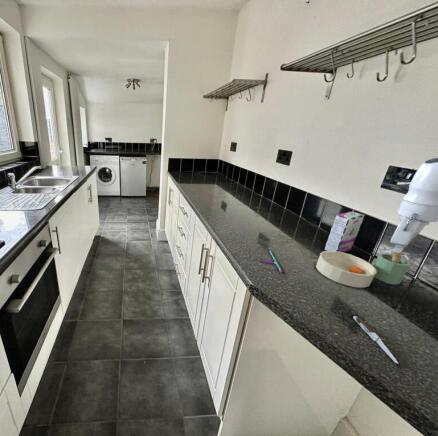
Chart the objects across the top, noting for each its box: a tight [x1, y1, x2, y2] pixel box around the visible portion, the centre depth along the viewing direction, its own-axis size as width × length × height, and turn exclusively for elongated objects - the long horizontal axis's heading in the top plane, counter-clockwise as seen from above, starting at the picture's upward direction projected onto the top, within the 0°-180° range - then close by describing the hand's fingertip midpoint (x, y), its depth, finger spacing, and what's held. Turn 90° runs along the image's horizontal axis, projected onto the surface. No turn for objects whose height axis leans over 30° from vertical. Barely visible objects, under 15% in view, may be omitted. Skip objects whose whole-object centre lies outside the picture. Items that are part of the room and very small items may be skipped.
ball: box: [349, 266, 362, 274], centre depth 80 cm, size 3×3×3 cm
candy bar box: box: [324, 211, 366, 253], centre depth 95 cm, size 11×5×16 cm, turn 114°
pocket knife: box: [352, 315, 399, 365], centre depth 56 cm, size 14×1×2 cm, turn 173°
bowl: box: [315, 250, 377, 288], centre depth 80 cm, size 15×15×6 cm
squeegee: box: [262, 250, 283, 274], centre depth 88 cm, size 15×1×5 cm
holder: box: [372, 252, 412, 285], centre depth 79 cm, size 8×8×8 cm
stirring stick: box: [391, 231, 406, 264], centre depth 77 cm, size 2×2×18 cm
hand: (398, 250), depth 76 cm, fingers closed on stirring stick, 2 cm apart
